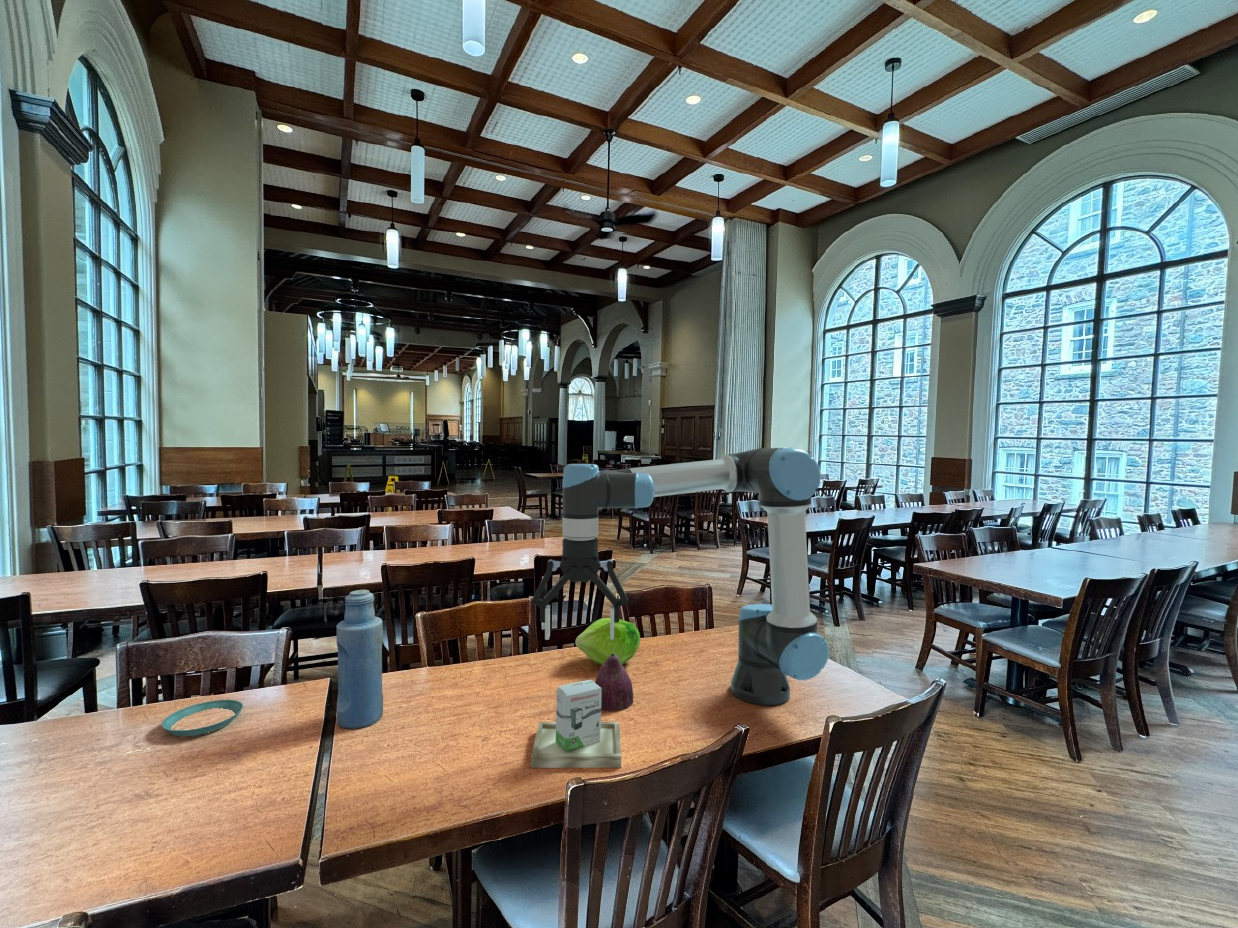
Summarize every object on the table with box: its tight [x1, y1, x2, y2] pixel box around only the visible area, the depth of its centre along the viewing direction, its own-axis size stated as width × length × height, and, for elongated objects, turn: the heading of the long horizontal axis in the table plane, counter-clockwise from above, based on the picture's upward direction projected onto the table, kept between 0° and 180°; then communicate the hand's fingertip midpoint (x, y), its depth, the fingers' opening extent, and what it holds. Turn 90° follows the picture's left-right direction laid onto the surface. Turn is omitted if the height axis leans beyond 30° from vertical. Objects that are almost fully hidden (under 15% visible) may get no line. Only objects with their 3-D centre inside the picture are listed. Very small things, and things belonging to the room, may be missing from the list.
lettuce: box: [575, 617, 641, 666], centre depth 164 cm, size 15×20×14 cm
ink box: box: [555, 679, 602, 752], centre depth 117 cm, size 9×5×12 cm, turn 122°
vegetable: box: [594, 653, 634, 712], centre depth 138 cm, size 10×10×15 cm
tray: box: [530, 721, 622, 769], centre depth 117 cm, size 18×14×2 cm
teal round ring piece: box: [161, 699, 244, 737], centre depth 125 cm, size 15×15×3 cm
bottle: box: [336, 589, 384, 730], centre depth 128 cm, size 10×10×30 cm
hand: (579, 637), depth 116 cm, fingers open, 13 cm apart
